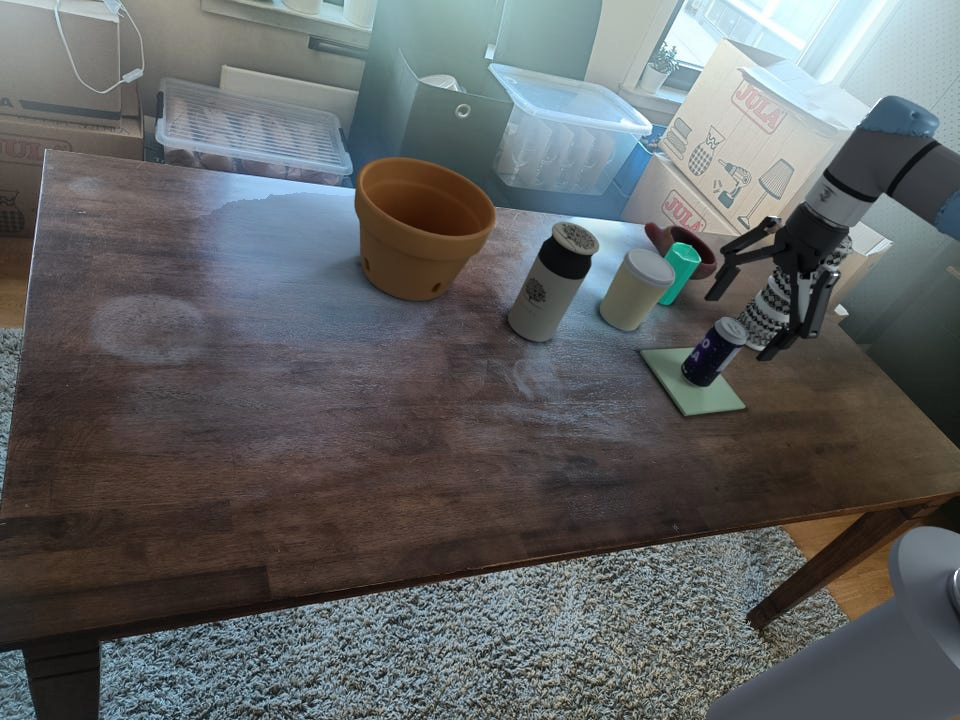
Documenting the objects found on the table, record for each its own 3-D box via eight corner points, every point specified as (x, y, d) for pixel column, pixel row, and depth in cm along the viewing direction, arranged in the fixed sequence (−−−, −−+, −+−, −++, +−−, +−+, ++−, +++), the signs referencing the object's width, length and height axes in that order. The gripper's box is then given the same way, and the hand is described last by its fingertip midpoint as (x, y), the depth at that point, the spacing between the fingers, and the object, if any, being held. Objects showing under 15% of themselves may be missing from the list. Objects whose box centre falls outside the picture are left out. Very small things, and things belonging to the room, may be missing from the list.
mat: (743, 408, 106) (746, 406, 106) (684, 416, 100) (686, 413, 99) (697, 349, 114) (699, 347, 114) (639, 352, 108) (641, 350, 107)
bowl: (681, 252, 140) (701, 222, 135) (714, 290, 133) (736, 260, 128) (626, 249, 133) (644, 217, 127) (657, 289, 125) (679, 257, 120)
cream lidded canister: (647, 318, 116) (681, 267, 108) (634, 342, 109) (670, 290, 102) (603, 292, 118) (634, 240, 110) (588, 314, 111) (620, 261, 103)
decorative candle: (740, 314, 129) (823, 212, 113) (778, 343, 126) (868, 242, 109) (721, 327, 123) (806, 221, 107) (760, 358, 120) (853, 253, 103)
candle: (648, 280, 126) (680, 231, 119) (675, 296, 126) (708, 247, 118) (641, 293, 122) (673, 243, 114) (668, 309, 121) (703, 260, 113)
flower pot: (314, 243, 99) (329, 159, 90) (418, 225, 113) (441, 150, 103) (388, 330, 91) (413, 248, 81) (491, 300, 104) (523, 226, 95)
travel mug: (538, 308, 107) (583, 220, 95) (561, 341, 103) (611, 253, 91) (499, 310, 103) (541, 219, 91) (520, 345, 99) (568, 253, 87)
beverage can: (697, 365, 110) (737, 315, 102) (714, 390, 106) (757, 340, 98) (672, 365, 107) (711, 314, 99) (688, 390, 104) (731, 339, 96)
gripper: (751, 162, 91) (675, 277, 104) (878, 272, 76) (770, 389, 89) (784, 167, 94) (707, 277, 108) (913, 273, 79) (803, 385, 93)
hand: (735, 328), depth 99 cm, fingers open, 13 cm apart
